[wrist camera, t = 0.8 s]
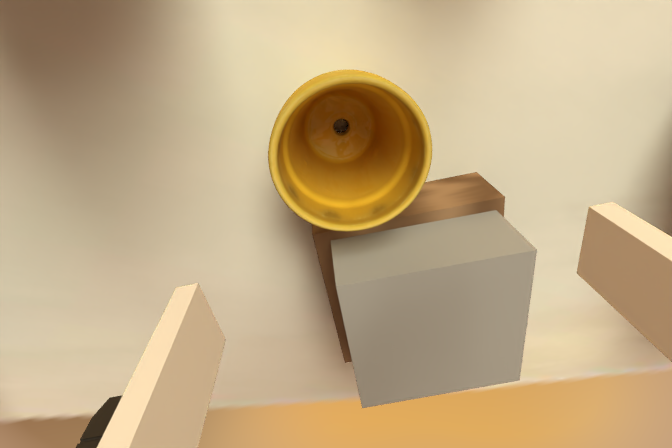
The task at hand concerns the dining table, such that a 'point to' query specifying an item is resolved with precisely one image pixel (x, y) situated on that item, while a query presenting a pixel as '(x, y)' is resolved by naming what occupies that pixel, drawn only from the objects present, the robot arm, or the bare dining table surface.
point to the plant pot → (349, 151)
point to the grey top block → (435, 306)
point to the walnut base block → (428, 206)
